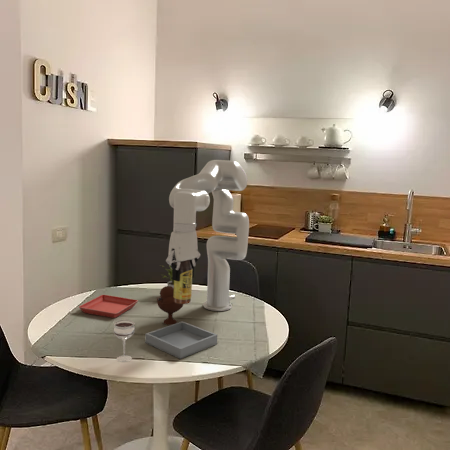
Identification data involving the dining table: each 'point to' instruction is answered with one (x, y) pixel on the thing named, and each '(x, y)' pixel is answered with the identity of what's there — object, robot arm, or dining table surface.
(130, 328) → the wineglass
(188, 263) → the sauce bottle
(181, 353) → the parts tray
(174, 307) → the ice cream bowl
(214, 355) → the dining table surface
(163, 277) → the house plant
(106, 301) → the red square tray
